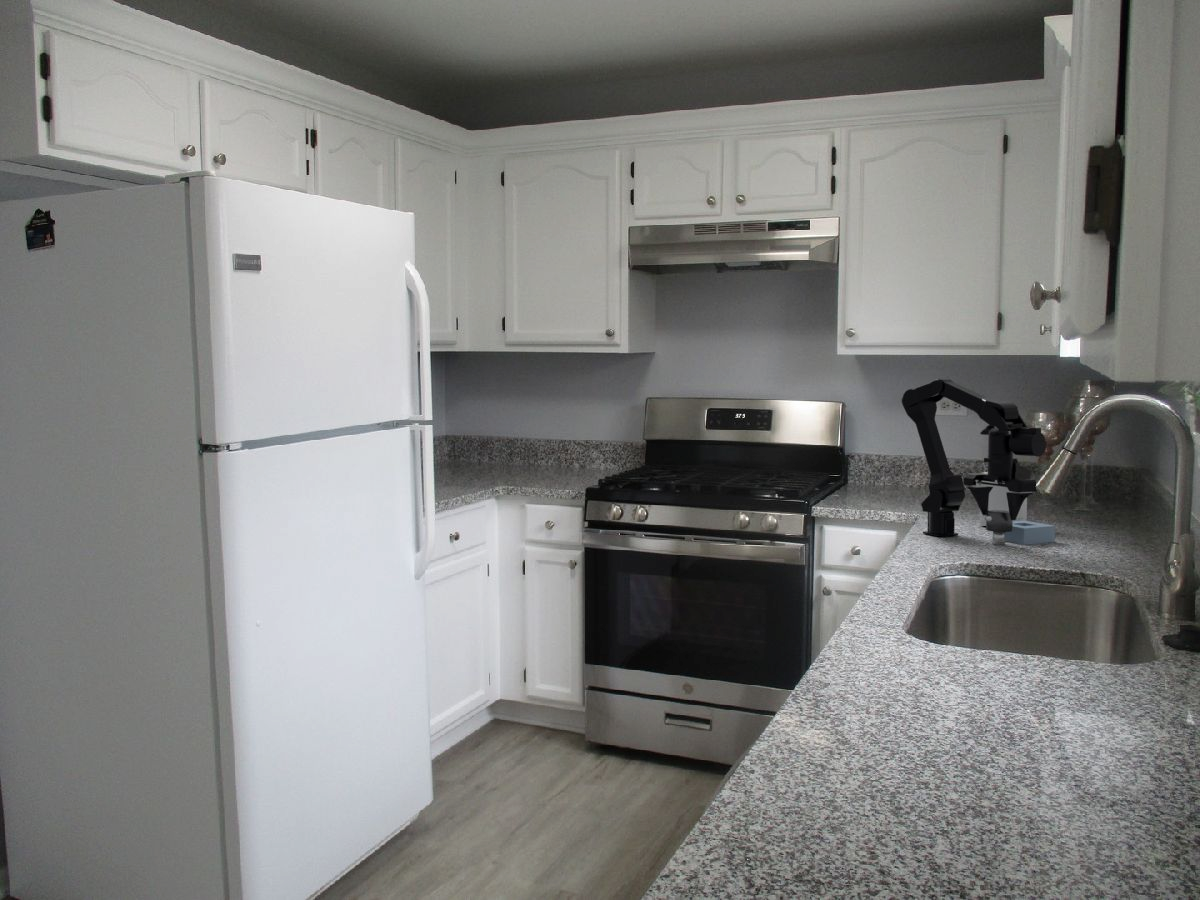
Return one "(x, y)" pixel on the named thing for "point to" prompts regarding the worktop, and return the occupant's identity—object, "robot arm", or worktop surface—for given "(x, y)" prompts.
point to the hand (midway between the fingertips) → (998, 517)
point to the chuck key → (998, 525)
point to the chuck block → (1030, 533)
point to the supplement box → (1002, 503)
